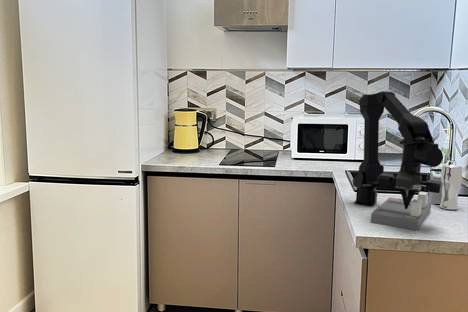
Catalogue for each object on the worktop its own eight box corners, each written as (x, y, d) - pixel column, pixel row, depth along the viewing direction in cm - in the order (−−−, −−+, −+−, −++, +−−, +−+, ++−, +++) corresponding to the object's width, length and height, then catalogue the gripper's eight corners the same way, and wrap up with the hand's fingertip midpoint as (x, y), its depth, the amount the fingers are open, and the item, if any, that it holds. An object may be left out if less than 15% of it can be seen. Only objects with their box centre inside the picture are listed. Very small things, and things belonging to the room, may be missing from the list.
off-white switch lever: (410, 215, 144) (411, 201, 143) (412, 212, 147) (414, 199, 147) (418, 216, 143) (419, 203, 142) (420, 213, 146) (422, 200, 145)
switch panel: (370, 222, 147) (371, 212, 146) (389, 205, 167) (389, 197, 166) (417, 230, 140) (417, 220, 139) (430, 211, 160) (431, 203, 159)
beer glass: (447, 205, 169) (451, 164, 168) (463, 209, 163) (467, 167, 161) (433, 206, 167) (437, 165, 165) (449, 210, 160) (453, 167, 159)
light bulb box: (427, 197, 180) (430, 170, 178) (446, 199, 178) (449, 171, 176) (429, 204, 170) (432, 175, 168) (449, 206, 168) (452, 177, 166)
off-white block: (416, 206, 154) (418, 193, 153) (419, 204, 158) (420, 191, 157) (424, 207, 153) (425, 195, 152) (426, 205, 156) (427, 192, 156)
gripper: (374, 160, 142) (369, 209, 144) (439, 168, 132) (433, 221, 135) (383, 155, 151) (379, 201, 154) (445, 163, 141) (439, 212, 144)
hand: (406, 208), depth 146 cm, fingers closed
